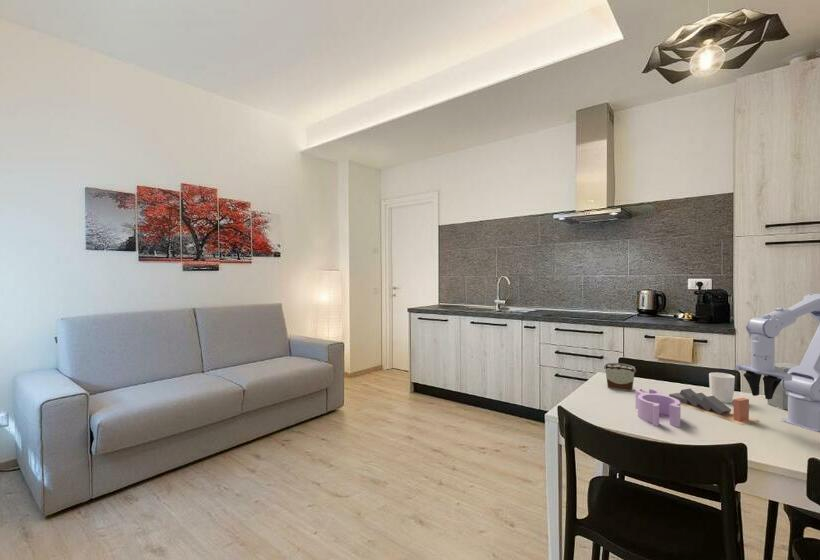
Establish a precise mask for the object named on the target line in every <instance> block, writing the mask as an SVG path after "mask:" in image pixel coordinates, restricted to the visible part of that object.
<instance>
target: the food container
mask: <svg viewBox="0 0 820 560" xmlns="http://www.w3.org/2000/svg"><path fill="white" fill-rule="evenodd" d="M635 367H636V366H633V365H631V364H627V363H619V362H608V363H606V364H605V365H604V368H603V370H605V376H606V377H605V378H606V385H607V388H608V389H614V388H616V389H615V390H621V389H624V390H623V391H629V390H631V392H633V389H634V379H635V373H637V369H636V368H635Z"/></svg>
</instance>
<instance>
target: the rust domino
mask: <svg viewBox="0 0 820 560" xmlns="http://www.w3.org/2000/svg"><path fill="white" fill-rule="evenodd" d="M733 413H734V420H736V421H739V422H740V421H745V420H749V418H750V399H749V398H747V397H739V398H733Z"/></svg>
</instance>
